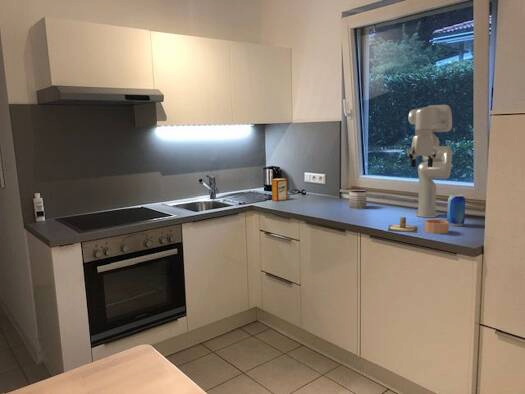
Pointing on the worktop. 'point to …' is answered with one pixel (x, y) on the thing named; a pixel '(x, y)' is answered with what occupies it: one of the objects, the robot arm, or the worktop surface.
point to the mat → (400, 231)
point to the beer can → (456, 210)
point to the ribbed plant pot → (357, 199)
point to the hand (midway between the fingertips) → (421, 167)
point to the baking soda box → (279, 190)
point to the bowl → (436, 226)
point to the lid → (402, 226)
